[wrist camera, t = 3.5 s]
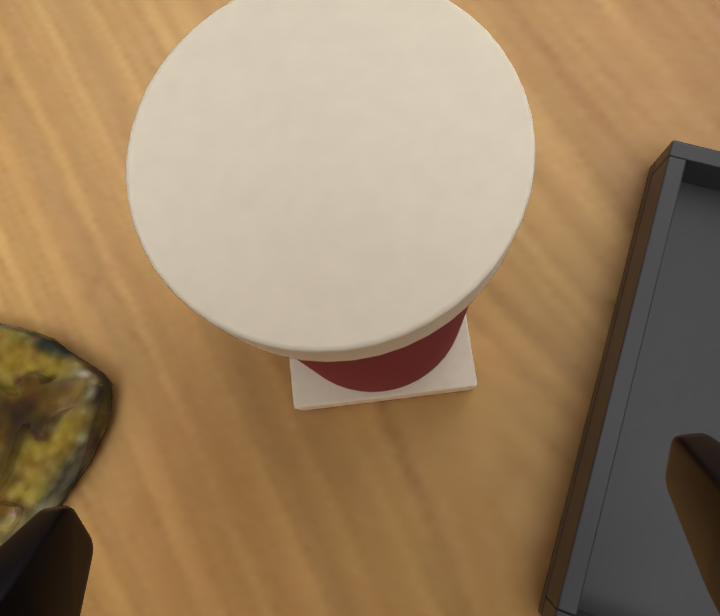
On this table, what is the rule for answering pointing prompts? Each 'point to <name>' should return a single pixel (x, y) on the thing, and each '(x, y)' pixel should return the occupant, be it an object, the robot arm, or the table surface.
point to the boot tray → (647, 409)
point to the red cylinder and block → (335, 186)
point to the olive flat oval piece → (44, 423)
